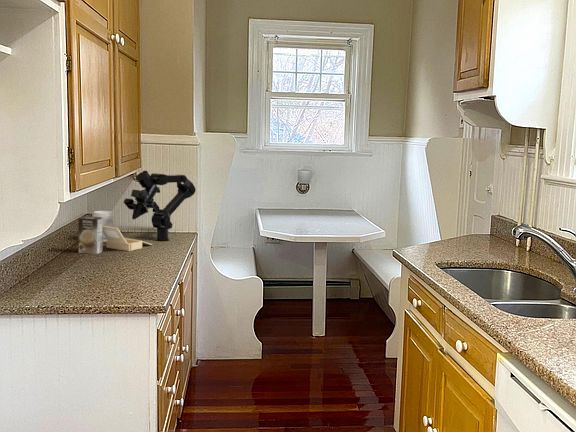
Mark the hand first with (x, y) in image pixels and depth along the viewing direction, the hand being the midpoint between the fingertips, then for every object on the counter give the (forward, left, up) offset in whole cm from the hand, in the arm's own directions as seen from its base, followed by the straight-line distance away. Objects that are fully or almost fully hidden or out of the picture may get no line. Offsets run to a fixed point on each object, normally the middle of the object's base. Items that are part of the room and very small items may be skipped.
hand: (133, 218), depth 288 cm
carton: (+1, -1, -13) cm, 13 cm away
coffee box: (+13, -18, -14) cm, 26 cm away
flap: (+10, -9, -6) cm, 15 cm away
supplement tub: (-15, -15, -14) cm, 25 cm away
